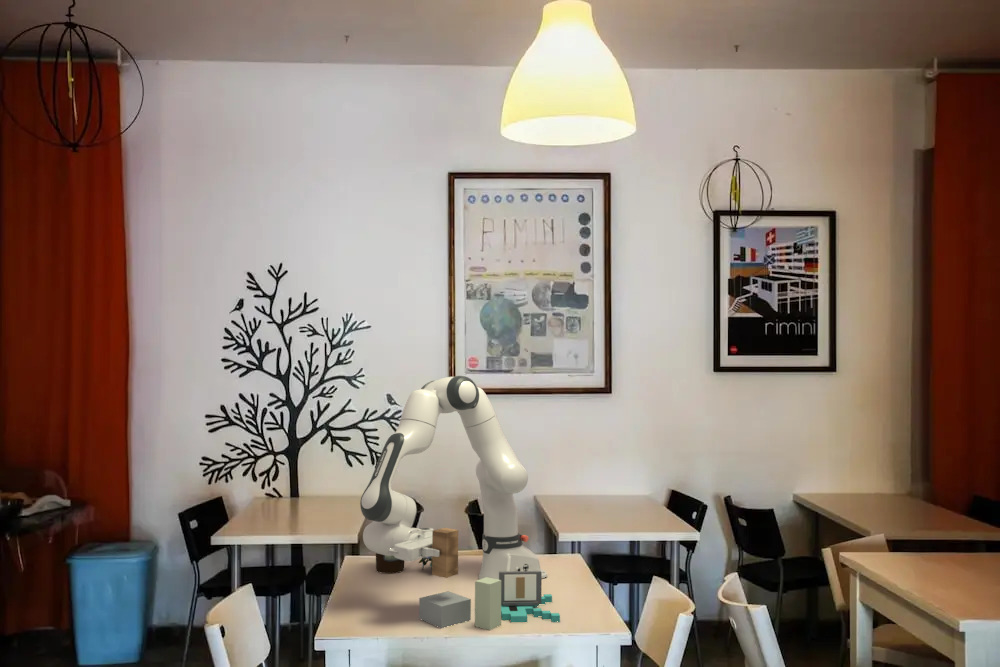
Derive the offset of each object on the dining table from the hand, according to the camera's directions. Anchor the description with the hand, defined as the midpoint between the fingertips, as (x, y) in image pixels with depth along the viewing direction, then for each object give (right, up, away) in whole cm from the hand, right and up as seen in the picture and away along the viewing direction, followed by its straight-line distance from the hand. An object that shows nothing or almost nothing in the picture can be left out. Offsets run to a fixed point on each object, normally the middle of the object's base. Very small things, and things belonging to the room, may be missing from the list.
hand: (447, 551), depth 227 cm
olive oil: (-23, -20, +52) cm, 60 cm away
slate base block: (-1, -19, 0) cm, 19 cm away
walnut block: (-1, -7, 0) cm, 7 cm away
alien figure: (+20, -20, +8) cm, 29 cm away
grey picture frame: (+20, -17, +8) cm, 27 cm away
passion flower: (-8, -20, +51) cm, 55 cm away
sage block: (+11, -19, -5) cm, 22 cm away
